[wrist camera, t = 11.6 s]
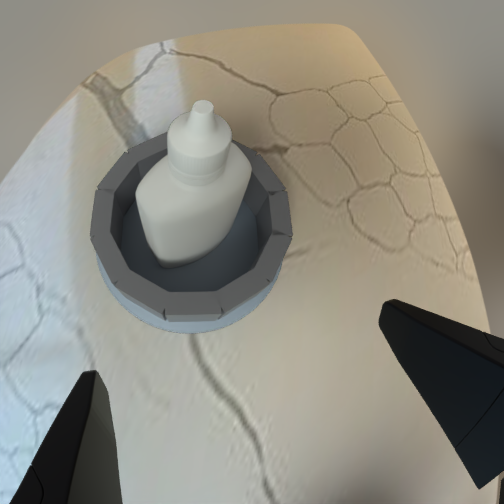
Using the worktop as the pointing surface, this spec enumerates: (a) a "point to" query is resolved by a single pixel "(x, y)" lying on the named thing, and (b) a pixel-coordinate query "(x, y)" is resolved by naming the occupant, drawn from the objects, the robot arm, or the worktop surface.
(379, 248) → the worktop surface
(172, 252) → the eye dropper bottle
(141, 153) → the grey segmented round bowl
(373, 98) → the worktop surface
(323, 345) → the worktop surface
